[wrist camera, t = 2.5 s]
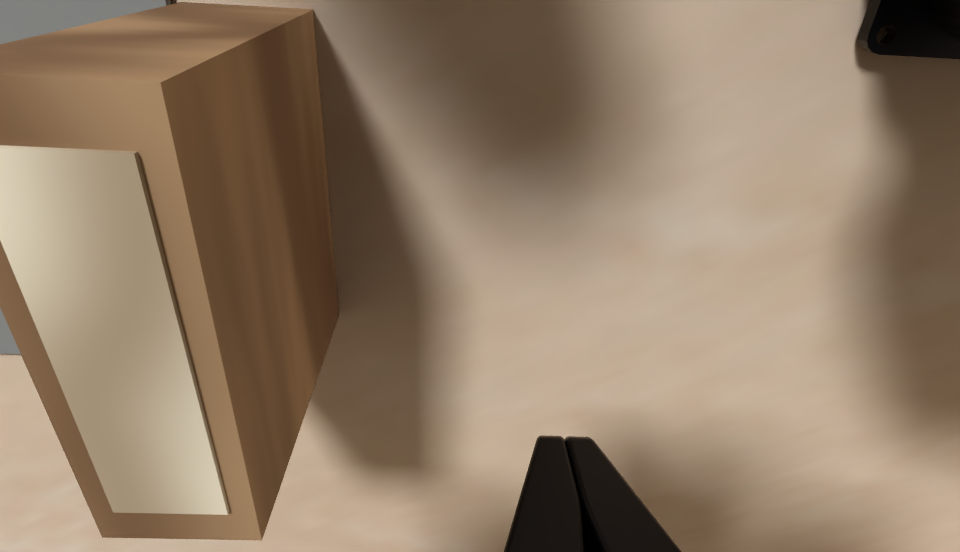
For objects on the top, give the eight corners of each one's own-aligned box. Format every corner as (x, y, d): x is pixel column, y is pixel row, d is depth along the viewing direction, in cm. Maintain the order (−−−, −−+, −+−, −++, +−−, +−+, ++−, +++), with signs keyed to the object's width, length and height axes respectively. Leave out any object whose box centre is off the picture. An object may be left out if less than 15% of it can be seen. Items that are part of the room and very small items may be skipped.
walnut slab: (313, 9, 16) (156, 83, 8) (339, 314, 21) (260, 544, 13) (181, 1, 15) (-113, 70, 8) (240, 310, 21) (99, 541, 13)
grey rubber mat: (153, -87, 14) (147, -87, 14) (241, 355, 21) (238, 361, 21) (-269, -114, 14) (-283, -114, 14) (-37, 347, 21) (-43, 352, 21)
